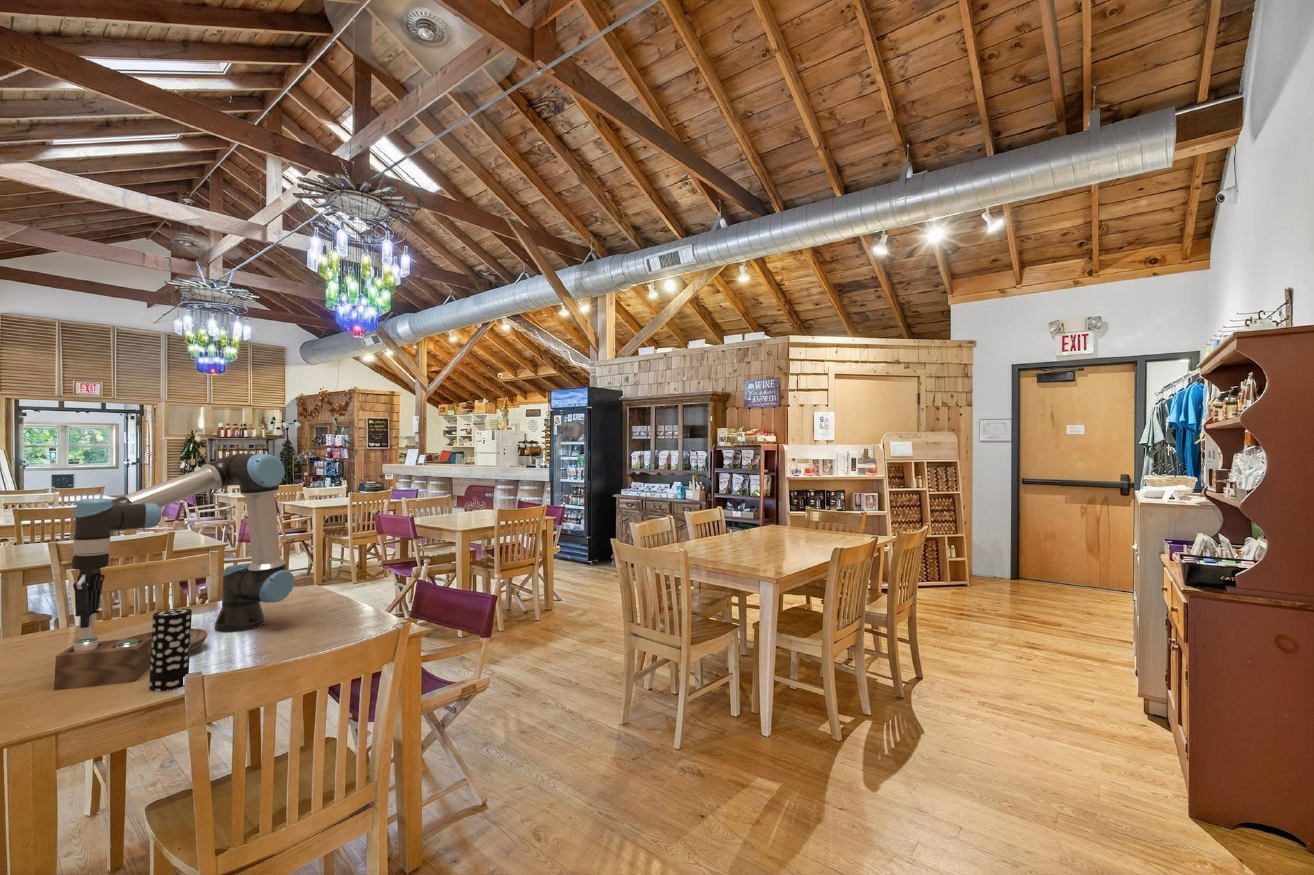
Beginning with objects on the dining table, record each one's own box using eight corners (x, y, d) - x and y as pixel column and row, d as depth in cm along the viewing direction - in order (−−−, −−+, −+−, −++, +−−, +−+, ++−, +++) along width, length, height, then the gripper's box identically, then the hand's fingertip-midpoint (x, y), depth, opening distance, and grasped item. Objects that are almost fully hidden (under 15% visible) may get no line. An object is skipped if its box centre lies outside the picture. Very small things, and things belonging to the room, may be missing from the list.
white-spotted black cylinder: (164, 680, 166) (167, 608, 167) (195, 679, 167) (199, 608, 168) (140, 691, 158) (145, 616, 159) (173, 691, 159) (177, 616, 159)
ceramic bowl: (129, 647, 194) (129, 631, 194) (215, 639, 203) (216, 625, 203) (95, 671, 173) (96, 653, 173) (194, 661, 182) (194, 645, 182)
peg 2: (139, 668, 172) (140, 638, 172) (132, 673, 168) (134, 643, 168) (118, 670, 170) (119, 640, 170) (111, 676, 166) (112, 645, 166)
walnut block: (150, 667, 176) (152, 636, 176) (134, 681, 165) (136, 648, 165) (75, 674, 169) (77, 643, 169) (53, 690, 158) (55, 656, 158)
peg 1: (99, 666, 168) (101, 635, 169) (91, 671, 164) (93, 640, 164) (77, 668, 166) (79, 637, 167) (69, 673, 162) (70, 642, 162)
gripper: (84, 550, 171) (79, 633, 170) (62, 557, 159) (56, 646, 158) (117, 549, 174) (112, 630, 173) (98, 556, 162) (92, 643, 161)
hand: (85, 638), depth 165 cm, fingers closed
